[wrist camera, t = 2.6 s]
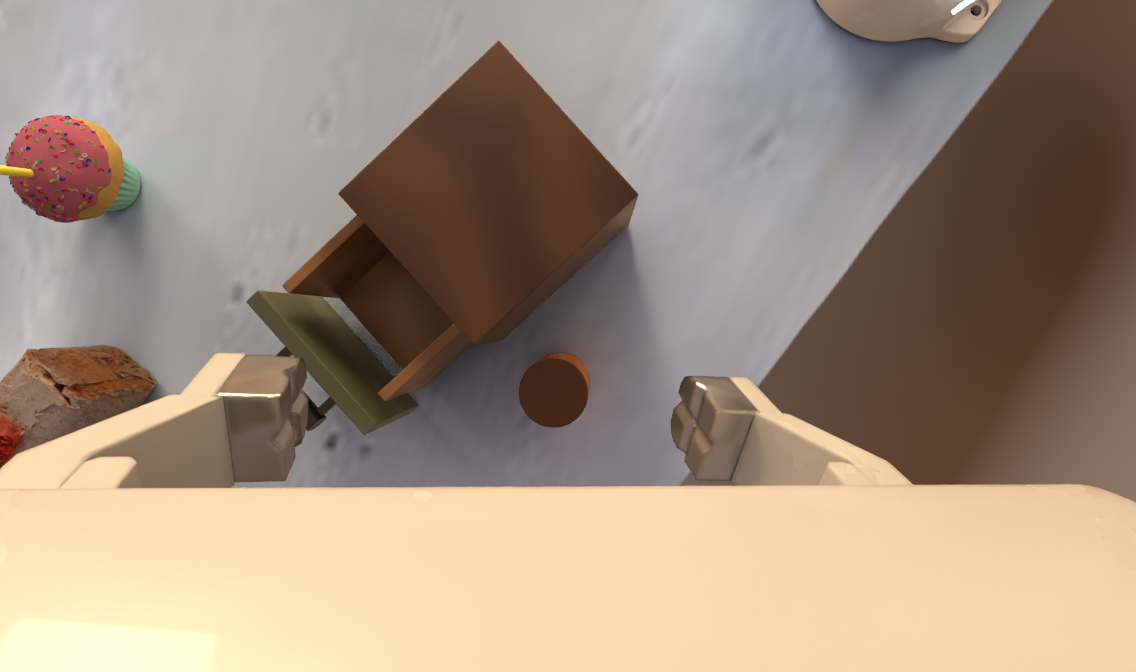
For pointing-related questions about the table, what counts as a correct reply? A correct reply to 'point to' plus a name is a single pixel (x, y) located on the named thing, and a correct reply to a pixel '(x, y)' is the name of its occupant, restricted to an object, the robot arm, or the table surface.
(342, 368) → the drawer
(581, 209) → the cabinet
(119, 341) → the table surface
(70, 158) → the cupcake
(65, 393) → the food item
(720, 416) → the robot arm
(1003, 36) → the table surface
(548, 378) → the cookie roll
